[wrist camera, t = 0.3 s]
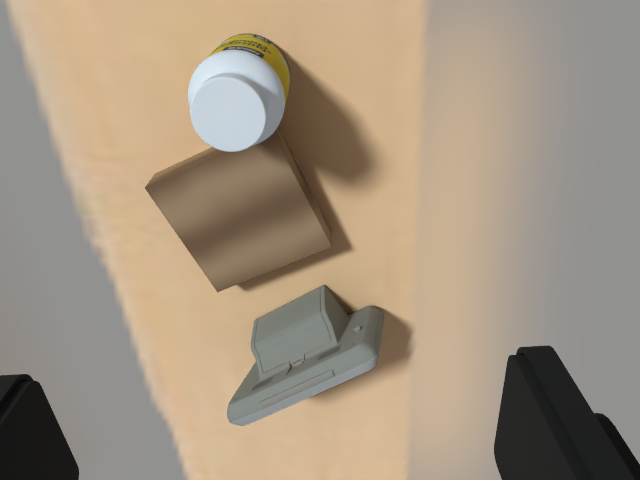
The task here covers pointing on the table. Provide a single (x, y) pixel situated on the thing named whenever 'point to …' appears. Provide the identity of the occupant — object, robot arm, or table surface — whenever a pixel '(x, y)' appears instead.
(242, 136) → the pill bottle
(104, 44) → the table surface
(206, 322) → the table surface
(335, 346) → the digital clock
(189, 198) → the walnut block
